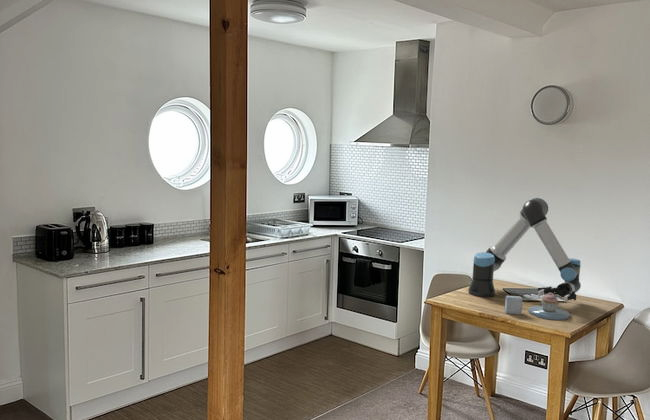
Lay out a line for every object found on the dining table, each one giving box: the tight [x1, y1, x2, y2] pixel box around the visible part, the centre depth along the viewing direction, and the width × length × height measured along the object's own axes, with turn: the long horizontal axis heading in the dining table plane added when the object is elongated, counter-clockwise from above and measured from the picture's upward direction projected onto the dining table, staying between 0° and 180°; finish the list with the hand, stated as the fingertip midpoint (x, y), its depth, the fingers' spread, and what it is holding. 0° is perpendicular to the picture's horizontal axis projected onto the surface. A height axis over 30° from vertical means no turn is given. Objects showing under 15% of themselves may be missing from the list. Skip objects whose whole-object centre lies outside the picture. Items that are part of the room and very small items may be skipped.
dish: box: [528, 305, 570, 321], centre depth 317 cm, size 20×20×2 cm
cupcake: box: [540, 292, 560, 312], centre depth 316 cm, size 9×9×10 cm
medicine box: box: [504, 295, 523, 315], centre depth 316 cm, size 8×4×9 cm, turn 84°
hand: (551, 296), depth 316 cm, fingers open, 13 cm apart
